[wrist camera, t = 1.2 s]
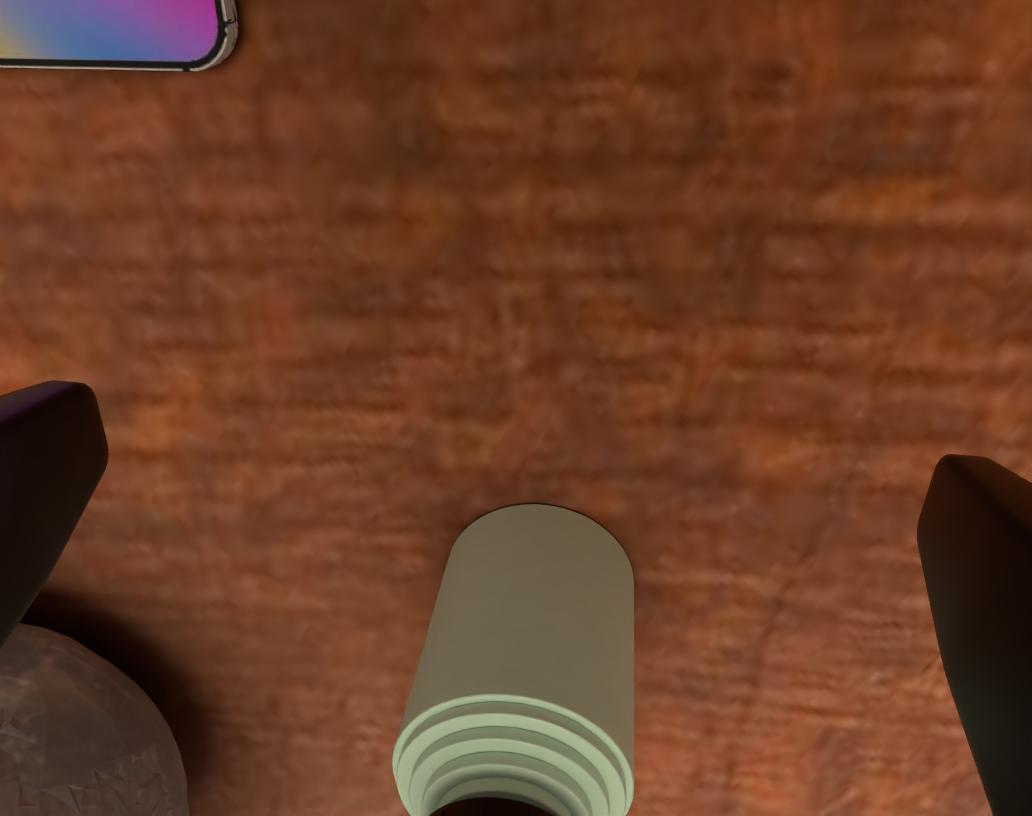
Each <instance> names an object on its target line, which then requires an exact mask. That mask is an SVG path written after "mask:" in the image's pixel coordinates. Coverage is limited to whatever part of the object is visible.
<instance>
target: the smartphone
mask: <svg viewBox="0 0 1032 816" xmlns="http://www.w3.org/2000/svg"><path fill="white" fill-rule="evenodd" d="M237 34H238V20H237V13H236V6H235V0H0V68H20V69H73V70H126V71H179V72H195V71H201V70H204V69H207V68H210V67H213V66H215V65H217V64H219V63H221V62H222V61H224V60H225V59H226V58H227V57H228V56H229V54H230V53H231V52H232V50H233V48H234V46H235V43H236V39H237Z"/></svg>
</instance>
